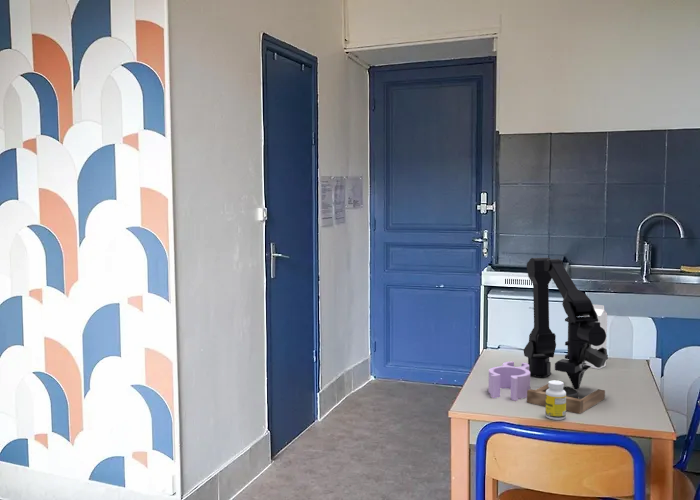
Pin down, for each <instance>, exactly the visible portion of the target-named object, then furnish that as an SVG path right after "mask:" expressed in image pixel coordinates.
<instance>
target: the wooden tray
mask: <svg viewBox="0 0 700 500" xmlns="http://www.w3.org/2000/svg"><path fill="white" fill-rule="evenodd" d="M547 389H549V387H548V383H546V384H544V385H542V386H540V387H538V388H537V389H531V388H530V390H528V391H527V397H526V402H527V403H529V404H533V405H538V406H542V407H546V390H547ZM605 398H606V390H604V389H596V390H594V391H593V392H590V393H589V394H588V395H586V396H583V398H579V399H577V398H572V397H567V396H566V412H570V413H575V414H580V415H581V414H582V413H584V412H585V411H587V410H589V409H590V408H592V407H594V406H595V405H597V404H598V403H600V402H602V401H603V400H605Z"/></svg>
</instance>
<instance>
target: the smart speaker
mask: <svg viewBox="0 0 700 500" xmlns="http://www.w3.org/2000/svg"><path fill="white" fill-rule="evenodd" d="M563 390H565V392H566V396H567V397H572V398H577V399H580V398H579V395H580V394H579V391H578V390H576V389H574V387H573V388H572V387H570V386H564V388H563Z"/></svg>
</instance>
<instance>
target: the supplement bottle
mask: <svg viewBox="0 0 700 500" xmlns="http://www.w3.org/2000/svg"><path fill="white" fill-rule="evenodd" d="M547 384H548V387H549V389H547V390H546V406H545V414H544V415H545V417H546V418H548V420H549V419H550V420H554V421H561V420H565V419H566V417H567V411H566V392H565V390H563V388H564V387H565V386H564V382H563V381H561V380H558V379H557V380H555V379H553V380H549V381H548V382H547Z"/></svg>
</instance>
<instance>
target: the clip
mask: <svg viewBox="0 0 700 500" xmlns="http://www.w3.org/2000/svg"><path fill="white" fill-rule="evenodd" d="M500 388H502V389H510V400H512V401H513V402H518V400H519V399H527V391H528V390H530V389H531V376H530V371H529V364H528V362H521V366H515V361H511V360H510V361H504V362H503V363H502V365H500V366H499V365H498V366H494V367H491V368H489V369H488V394H489V393H490V394H489V395H490V398H491V397H492V398H491V399H497V397H498V398H500V397H501V389H500Z"/></svg>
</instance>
